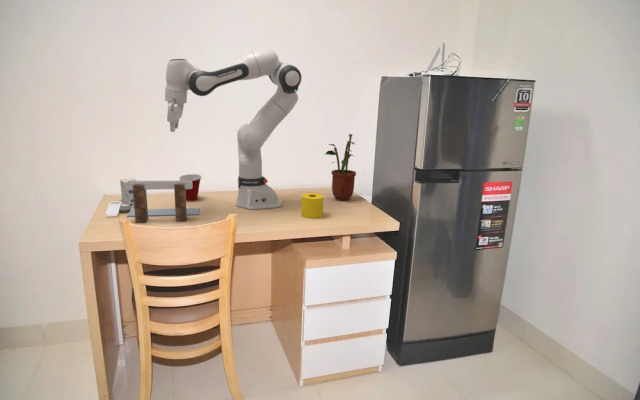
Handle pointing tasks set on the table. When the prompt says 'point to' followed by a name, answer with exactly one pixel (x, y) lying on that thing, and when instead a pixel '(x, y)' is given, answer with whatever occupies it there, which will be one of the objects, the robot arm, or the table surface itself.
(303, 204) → the yellow hollow cylinder
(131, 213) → the slate mat
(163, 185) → the rail
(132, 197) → the light bulb box
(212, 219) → the table surface
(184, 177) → the plastic cup
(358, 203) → the table surface
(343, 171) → the potted plant
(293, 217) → the table surface
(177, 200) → the hook posts
